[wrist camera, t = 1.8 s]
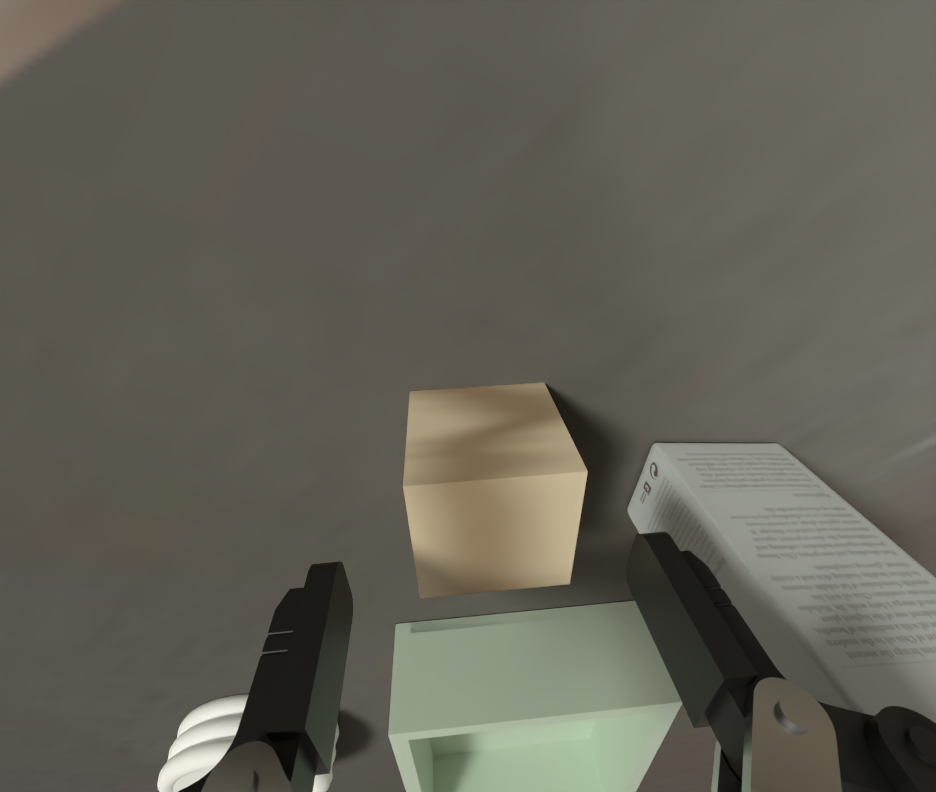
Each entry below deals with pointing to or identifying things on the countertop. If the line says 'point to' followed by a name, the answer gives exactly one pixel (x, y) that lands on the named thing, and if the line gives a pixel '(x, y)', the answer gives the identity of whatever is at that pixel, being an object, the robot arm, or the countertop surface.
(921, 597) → the skincare box
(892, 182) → the countertop surface
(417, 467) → the maple cube
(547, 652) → the tote
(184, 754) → the white round ribbed disc
